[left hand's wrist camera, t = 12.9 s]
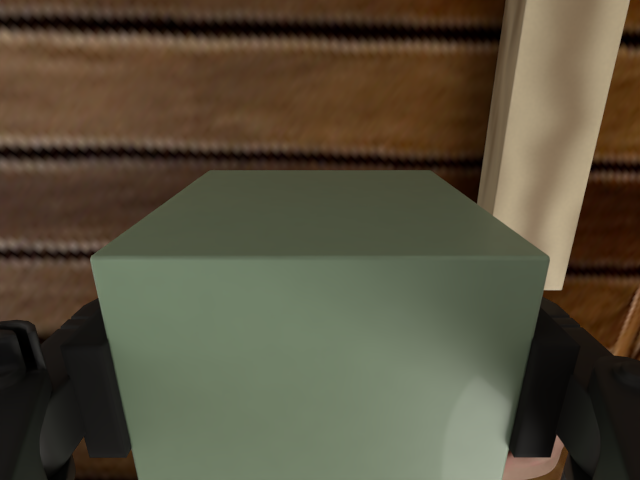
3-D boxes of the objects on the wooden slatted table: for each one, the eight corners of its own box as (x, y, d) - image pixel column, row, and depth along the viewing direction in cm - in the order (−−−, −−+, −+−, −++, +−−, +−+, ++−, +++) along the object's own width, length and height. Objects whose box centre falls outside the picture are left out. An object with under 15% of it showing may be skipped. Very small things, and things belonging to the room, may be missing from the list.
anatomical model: (604, 498, 35) (481, 538, 37) (577, 459, 39) (466, 497, 41) (565, 390, 31) (428, 441, 33) (538, 358, 35) (416, 406, 37)
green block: (223, 315, 16) (141, 503, 9) (208, 169, 14) (87, 256, 7) (417, 315, 16) (498, 503, 9) (431, 170, 14) (553, 256, 7)
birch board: (466, 273, 32) (568, 397, 19) (543, -275, 21) (908, -870, 8) (540, 273, 32) (692, 396, 19) (656, -275, 21) (1204, -869, 8)
